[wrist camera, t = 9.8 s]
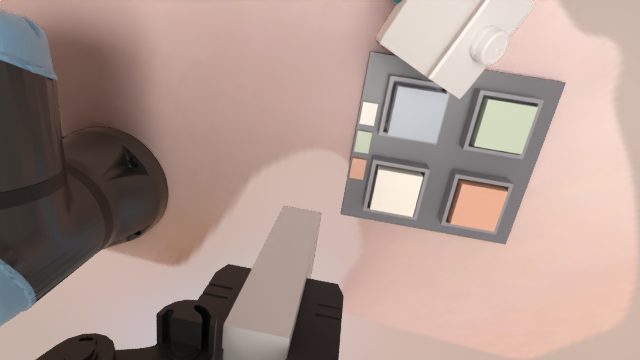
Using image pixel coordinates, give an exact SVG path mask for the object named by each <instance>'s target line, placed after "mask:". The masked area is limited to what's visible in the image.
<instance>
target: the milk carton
mask: <svg viewBox="0 0 640 360" xmlns="http://www.w3.org/2000/svg"><path fill="white" fill-rule="evenodd" d="M533 7H534V4H533V2H532V0H402V1H401V2H400V3H398V4H397V5H395V7H394V8H393V10H392V12H391V13H390V15H389V16H388V18H387V19H386V21H385V22H384V24H383V25H382V27H381V29H380V30H379V32H378V33H377V35H376V37H375V38H376V39H377V40H378V42H379V43H380V44H381V45H383V46H384V47H385V48H387V49H388V50H390V51H391V52H392V53H394V54H395V55H397V56H398V57H399V58H401V59H402V60H404V61H405V62H406V63H408V64H409V65H411V66H412V67H413V68H415V69H416V70H418V71H419V72H421V73H422V74H423V75H425V76H426V77H427V78H429V79H431V80H432V81H434V82H435V83H436V84H438V85H439V86H441V87H442V88H444V89H445V90H447V91H448V92H450V93H451V94H453V95H454V96H456V97H457V98H459V99H460V98H461V97H462V96H463V95H464V94H465V93H466V92H467V90H468V89H469V88H470V87H471V86H472V84H473V83H474V82H475V81H476V79H477V78H478V77H479V76H480V74H481V73H482V72H483V71H484V69H485V68H486V67H487V66H488V65H492V64H493V63H495V62H496V61H498V60H499V59H500V57H501V56H502V55H503V54H504V52H505V51H506V49H507V47H508V45H509V38H510V37H511V36H512V34H513V33H514V32H515V31H516V29H517V28H518V27H519V26H520V24H521V23H522V22H523V21H524V19H525V18H526V17H527V15H528V14H529V13H530V11H531V10H532V9H533Z"/></svg>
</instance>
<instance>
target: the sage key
mask: <svg viewBox="0 0 640 360" xmlns="http://www.w3.org/2000/svg"><path fill="white" fill-rule="evenodd" d="M537 109H538V107H536V106H533V105H530V104H526V103H520V102H513V101H507V100H501V99H495V98H489V97H483V98H482V102H481V105H480V108H479V112H478V115H477V118H476V122H475V125H474V128H473V132H472V135H471V138H470V143H471V144H472V145H473V146H475V147H481V148H487V149H493V150H499V151H505V152H511V153H517V154H522V151H523V149H524V146H525V143H526V140H527V137H528V135H529V132H530V129H531V126H532V123H533V121H534V118H535V115H536V112H537Z"/></svg>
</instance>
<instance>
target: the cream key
mask: <svg viewBox="0 0 640 360" xmlns="http://www.w3.org/2000/svg"><path fill="white" fill-rule="evenodd" d="M422 180H423V176H422V173H421V172H420V171H414V170H408V169H402V168H397V167H391V166H385V165H379V164H378V165H377V169H376V174H375V179H374V184H373V188H372V193H371V198H370V209H371V210H377V211H382V212H388V213H393V214H399V215H404V216H410V217H413V214H414V210H415V206H416V202H417V199H418V195H419V191H420V187H421V183H422Z"/></svg>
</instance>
